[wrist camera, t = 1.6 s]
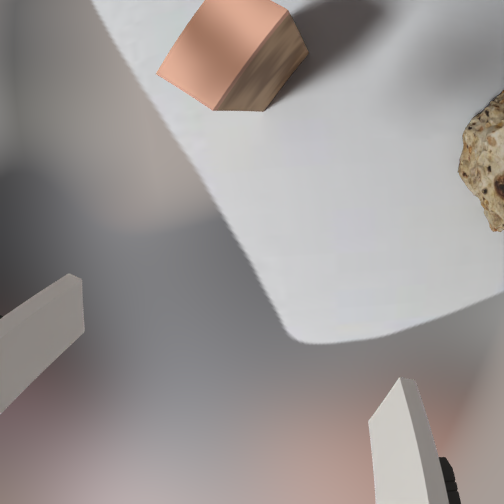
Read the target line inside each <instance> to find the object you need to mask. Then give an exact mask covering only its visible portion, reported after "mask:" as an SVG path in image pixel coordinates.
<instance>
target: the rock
mask: <svg viewBox="0 0 504 504" xmlns="http://www.w3.org/2000/svg"><path fill="white" fill-rule="evenodd" d="M462 137H463V144H464V146H463V151H462V154H461V157H460V163H459V168H458V172H459V176H460V177H461V179H462V180H463V181H464V183H465V184H466V186H467V187H468V189H469V190H470V191H471V192H472V193H473V195H475V196H477V197H478V198H479V199H480V201H481V205H482V206H483V208H484V214H485V216H486V218H487V219H488V222H489V224H490V228H491V230H492V231H493V232H494V231H499V232H501V231H502V230H504V90H503V91H502V93H501V95H499V96H497V97H496V98H495V99H494V101H491V102H490V105H489V107H486V108H485V110H484V111H483V112H482V113H481V114H478V115H476V116H475V117H473V119H472V120H471V121H470V123H469V124H468V125H467V127H466V128H465V131H464V133H463V136H462Z"/></svg>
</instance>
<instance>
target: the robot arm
mask: <svg viewBox="0 0 504 504" xmlns="http://www.w3.org/2000/svg"><path fill="white" fill-rule="evenodd" d="M84 332H85V329H84V316H83V298H82V279H80V278H78V277H76V276H73V275H71V274H67V275H65V276H64V277H62V278H61V279H59V280H58V281H56V282H54V283H53V284H51V285H50V286H48V287H47V288H45V289H44V290H42V291H41V292H39V293H38V294H36V295H35V296H33V297H32V298H30V299H29V300H27V301H26V302H24V303H23V304H21V305H20V306H18V307H17V308H15V309H14V310H12V311H11V312H10V313H8V314H7V315H5V316H4V317H3V316H0V414H1V413H2V412H3V411H4V410H5V409H6V408H7V407H8V406H9V405H10V404H11V403H12V402H13V401H14V400H15V399H16V398H17V397H18V395H20V394H21V393H22V392H23V391H24V390H25V389H26V388H27V387H28V386H29V384H31V383H32V382H33V381H34V380H35V379H36V377H38V376H39V375H40V374H41V373H42V372H43V371H44V370H45V369H46V368H47V367H48V366H49V365H50V364H51V363H52V362H53V361H54V360H55V359H56V358H57V357H58V356H59V355H60V354H61V353H62V352H64V351H65V350H66V349H67V348H68V347H69V346H70V345H71V344H72V343H73V342H74V341H75V340H76V339H77V338H78V337H80V336H81V335H82V334H83V333H84ZM368 423H369V431H370V439H371V449H372V460H373V470H374V482H375V497H376V504H461V502H460V498H459V493H458V492H457V484H456V482H455V477H454V472H453V469H452V467H451V465H450V464H449V462H448V461H447V459H446V458H445V457H438V453H437V450H436V446H435V442H434V439H433V435H432V432H431V428H430V425H429V422H428V418H427V415H426V412H425V409H424V405H423V402H422V399H421V396H420V393H419V391H418V387H417V384H416V381H415V380H413V379H407V378H402V377H399V379H398V380H397V382H396V383H395V385H394V386H393V388H392V389H391V391H390V392H389V393H388V395H387V396H386V398H385V399H384V401H383V402H382V403H381V405H380V406H379V408H378V409H377V410H376V412H375V413H374V415H373V416H372V417H371V418H370V420H369V421H368Z"/></svg>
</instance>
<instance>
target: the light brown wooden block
mask: <svg viewBox="0 0 504 504" xmlns="http://www.w3.org/2000/svg"><path fill="white" fill-rule="evenodd" d="M308 54H309V52H308V50H307V48H306V46H305V44H304V41H303V39H302V37H301V35H300V33H299V31H298V29H297V27H296V25H295V23H294V21H293V19H292V17H291V15H290V13H289V11H288V10H287V9H286V8H284V7H282V6H280V5H278V4H276V3H274V2H272V1H270V0H205V1H204V2H203V4H202V5H201V6H200V8H199V9H198V10H197V12H196V13H195V14H194V16H193V17H192V19H191V20H190V21H189V23H188V24H187V26H186V27H185V29H184V30H183V32H182V33H181V35H180V36H179V38H178V39H177V41H176V42H175V44H174V45H173V47H172V48H171V50H170V52H169V53H168V55H167V56H166V58H165V60H164V61H163V63H162V65H161V66H160V68H159V70H158V71H157V73H156V74H157V75H158V76H160V77H162V78H163V79H165V80H166V81H168V82H170V83H171V84H173V85H174V86H176V87H178V88H179V89H181V90H182V91H184V92H185V93H187V94H189V95H190V96H192V97H193V98H195V99H196V100H198V101H199V102H201V103H202V104H204V105H205V106H207V107H208V108H210V109H211V110H213V111H262V112H264V110H265V109H266V108H267V106H268V105H269V104H270V102H271V101H272V100H273V98H274V97H275V96H276V94H277V93H278V92H279V90H280V89H281V88H282V87H283V85H284V84H285V83H286V81H287V80H288V79H289V78H290V76H291V75H292V74H293V72H294V71H295V70H296V69H297V67H298V66H299V65H300V64H301V62H302V61H303V60H304V59H305V57H306V56H307V55H308Z"/></svg>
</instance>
